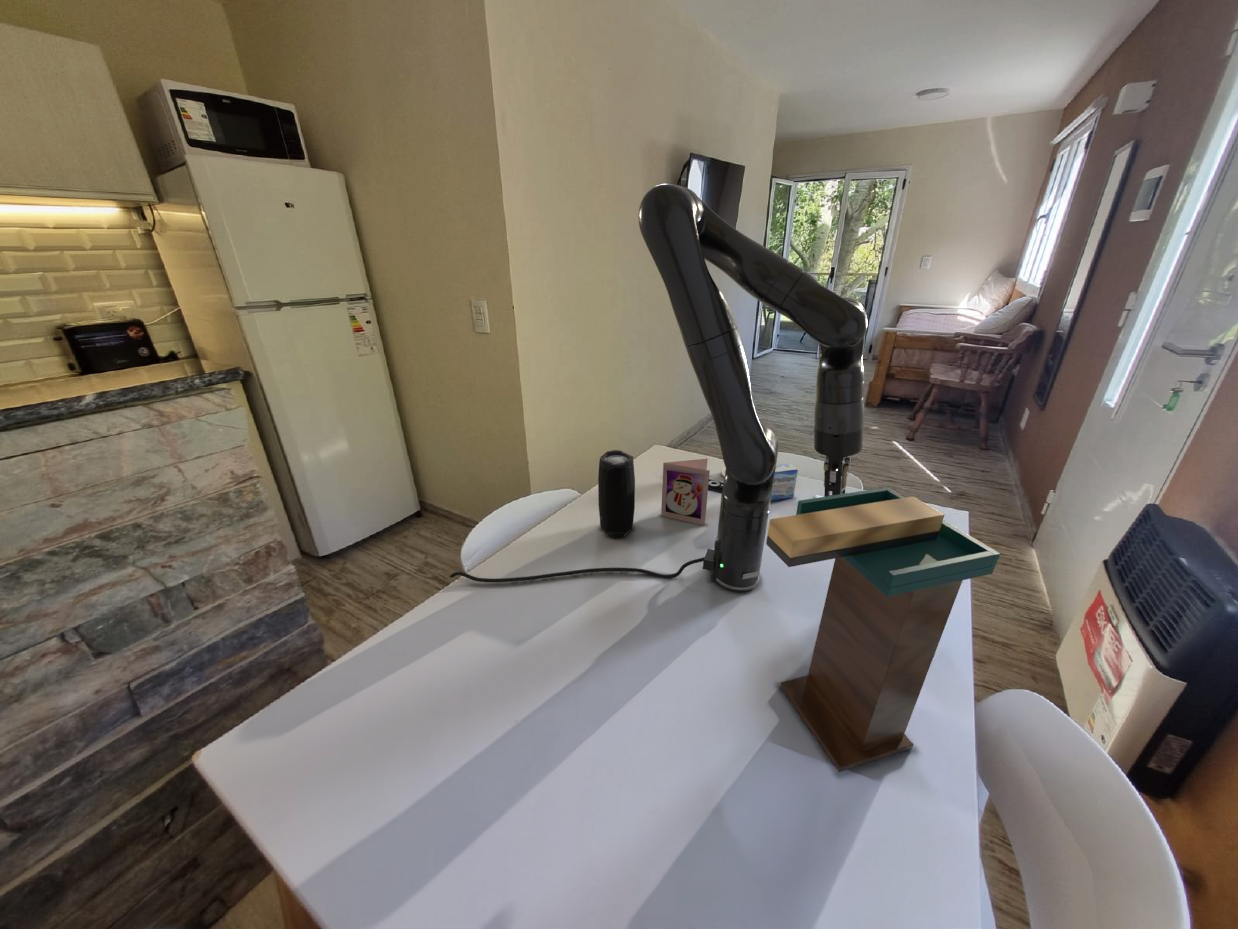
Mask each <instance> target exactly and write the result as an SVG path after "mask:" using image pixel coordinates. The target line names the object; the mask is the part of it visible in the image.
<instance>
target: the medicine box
mask: <svg viewBox="0 0 1238 929" xmlns="http://www.w3.org/2000/svg"><path fill="white" fill-rule="evenodd" d="M798 473H799V469H797V468H796V467H795V466H794V465H792V464H790V463H784V464H776V469H775V475H774V482H773V490H772V496H771V502H773V501H780V500H785V499H792V498H794V496H795V490H796V484H797V480H798Z"/></svg>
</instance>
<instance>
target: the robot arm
mask: <svg viewBox="0 0 1238 929" xmlns="http://www.w3.org/2000/svg"><path fill="white" fill-rule="evenodd" d="M638 226H639V230H640V234H641V236H642V239H643V241H644V243H645V245H646V247H647V249H648V252H649V253H650V256H651V258H652V260H653V262H654V264H655V266H656V268H657V270H658V272H659V274H660V277H661V280H662V281H663V284H664V287H665V290H666V292H667V295H668V298H669V301H670V305H671V309H672V311H673V314H674V317H675V321H676V323H677V326H678V329H679V332H680V335H681V338H682V341H683V345H684V347H685V350H686V354H687V355H688V359H689V361H690V364H691V367H692V369H693V372H694V374H695V376H696V380H697V382H698V385H699V388H700V390H701V393H702V395H703V398H704V400H705V402H706V405H707V407H708V409H709V411H710V414H711V417H712V420H713V424H714V427H715V430H716V435H717V438H718V442H719V447H720V452H721V456H722V460H723V461H724V464H725V467H726V472H725V477H724V479H723V484H722V489H721V496H720V505H719V516H718V527H717V534H716V538H715V540H714V547H713V549H712V548H707V549H706V552H705V555H704V557H699V558H695V559H693V560H689V561H686V562H685V563H683V564H682V565H681V566H680V567H679V569H678V570H677V571H676V572H674V573H670V574H662V573H659V572H654V571H651V570H647V569H644V568H637V567H636V568H635V567H597V568H583V569H575V570H569V571H561V572H560V571H559V572H553V573H545V574H538V575H530V576H519V577H518V576H517V577H502V578H501V577H500V578H486V577H477V576H474V575H471V574H469V573H466V572H464V571H454V572H453V573H451V574H450V575H449V576H448V577H449V578H450V579H451V578H454V577H457V576H461V577H464V578H466V579H468V580H471V581H474V582H478V583H510V582H522V581H524V582H525V581H533V580H540V579H547V578H556V577H563V576H564V577H565V576H571V575H578V574H587V573H588V574H589V573H601V572H603V573H604V572H629V573H630V572H632V573H640V574H646V575H649V576H653V577H657V578H662V579H672V578H677V577H679V576H680V575H681V574H682V572H684V570H685V569H686V568H687V567H689V566H690V565H694V564H697V563H702V570H705V571H710V572H711V576H710V581H712V582H714V583H715V582H716V584H718V586H721V587H722V588H724V589H726V590H729V591H734V592H748V591H752V590H753V589H755V588H756V587H757V586H758V585H759V582H760V573H761V572H760V571H761V567H762V560H763V554H764V546H765V539H766V532H767V527H768V520H769V515H770V508H771V503H772V501H771V496H772V490H773V482H774V475H775V469H776V465H777V462H778V455H779V450H780V448H779V441H778V438H777V436H776V434H775V432H774V431H773V430H772V429H771V428H770V427H769V426H767V425H765V424H762V423H761V421H760V419H759V416H758V414H757V410H756V407H755V404H754V400H753V393H752V385H751V377H750V376H751V375H750V369H749V363H748V358H747V354H746V350H745V346H744V342H743V339H742V336H741V333H740V330H739V327H738V324H737V321H736V318H735V316H734V313H733V311H732V310H731V307H730V305H729V304H728V302H727V300H726V298H725V296H724V294H722V292H721V290H720V289H719V287H718V285H717V284H716V282H715V280H714V279H713V277H712V274H711V273H710V271H709V268H708V265H707V263H706V261H707V262H708V263H710V264H711V265H713V266H714V267H716V268H717V269H719V271H722V273H724V274H725V275H727V276H728V277H729V278H730V279H731V280H732V281H733V282H734V283H735V284H737V285H738V286H739V287H740V288H741V289H742V290H744V291H745V292H746V293H747V294H749V295H750V296H751V297H753V298H754V299H755V300H757V301H758V302H760V303H762V304H763V305H765V306H767V307H768V308H770V309H771V310H773V311H775V312H776V313H778V314H780V315H782V316H783V317H785V318H787V319H788V320H790V321H791V322H792V323H793V324H795V325H796V326H797V327H798V328H799V329H800V330H801V331H802V332H804V333H805V334H806V335H807V336H809V337H810V338H811V339H813V340H814V341H815V342H817V343H818V360H819V361H818V367H817V373H816V387H815V390H816V392H815V395H816V396H815V397H816V399H815V406H814V414H813V415H814V417H813V418H814V419H813V420H814V421H813V422H814V423H813V424H814V426H813V427H814V428H813V429H814V430H813V435H814V436H813V437H814V438H813V448H814V450H815V452H817V453H818V454H819V455H823V456H825V461H824V462H823V472H824V473H823V474H824V476H823V477H824V478H823V487H824V496H823V497H826V496H833V495H839V494H846V490H847V479H848V476H849V475H848V474H850V468H851V462H852V457H853V456H856V455H857V454H859V453H860V452H861V451H862V449H863V442H864V425H865V423H864V422H865V406H864V390H865V388H864V387H865V368H864V362H863V361H864V360H863V358H864V357H863V356H864V350H865V348H864V347H865V337H866V334H867V331H868V325H869V324H868V323H869V322H868V321H869V320H868V316H867V312H866V309H865V307H864V305H863V304H862V303H861V302H860V301H858V300H857V299H855V298H854V297H847V296H841V295H839V294H837V293H835V291H832V290H830V289H828V288H827V287H825V286H823V285H822V284H821V283H820V282H819V281H818V279H817V278H816V277H815V276H813V275H812V274H811V273H810V272H808V271H806V270H805V269H803V268H802V267H800V266H798V265H797V264H795V263H793V262H792V261H790V260H789V259H787V258H785V257H784V256H782V255H780V254H778V253H777V252H775V251H773V250H771V249H770V248H768V247H766V246H765V245H763V244H761V243H759V242H758V241H755V240H754V239H752V238H750V237H748V236H747V235H745V234H744V233H742V232H741V231H739V230H738V229H736V228H735V227H734V226H732V225H731V224H729V223H728V222H727V221H725V220H724V219H723V218H721V216H719V215H718V214H717V213H716V212H715V211H714V210H712V208H711V207H709V206H708V205H707V204H706V203H705V201H703V200H702V199H701V198H700V197H699V196H698V195H697V193H695V191H693V190H692V189H691V188H688V187H686V186H682V185H677V184H675V183H674V184H673V183H661V184H658V185H654V186H653V187H652V188H650V189H649V190H648V191H647V192H646V193H645V194H644V195H643V198H642V199H641V202H640V205H639V209H638ZM723 461H722V462H723Z"/></svg>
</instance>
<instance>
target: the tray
mask: <svg viewBox="0 0 1238 929" xmlns="http://www.w3.org/2000/svg"><path fill="white" fill-rule="evenodd" d="M900 498H906V496H903V495H902V494H900V493H898V492H897V491H895V490H893V489H891V488H890V487H888V486H886V487H880V488H872V489H866V490H859V491H854V492H853V491H852V492H845V494H839V495H833V496H826V497H824V496H822V497H819V498H814V497H813V498H807V499H801V500H800V499H799V500H798V502H797V508H796V514H795V515H800V514H806V513H812V512H818V511H825V510H831V509H837V508H843V507H850V506H856V505H862V504H868V503H875V502H881V501H887V500H893V499H900ZM1000 556H1001V553H1000V552H998V551H996V549H993V548H992V547H990V546H988V545H987V544H985V543H983V542H982V541H979V540H978V539H976V538H975V537H973V536H971V535H970V534H968V533H966V532H965V531H963V530H961V529H959V528H958V527H956V526H954V525H953V524H951V523H949V522H948V521H946V520H944V519H943V522H942V525H941V528H940V530H939V534H938V537H937V539H935V540H930V541H925V542H919V543H914V544H909V545H903V546H898V547H893V548H888V549H882V550H877V551H872V552H867V553H861V554H856V555H851V556H845V557H841V558H843V559H844V560H845V561H846V562H847V563H848V564H850V565H851V566H852V567H853V568H854V569H855V570H857V571H858V572H859V573H860V574H861V575H862V576H864V577H865V578H866V579H867V580H868V581H869V582H871V583H872V584H873V585H874V586H875V587H877V588H878V589H879V590H880V591H881V592H882V593H884V594H885V595H886V596H887V597H888V596H893V595H898V594H902V593H907V592H911V591H916V590H920V589H925V588H929V587H934V586H939V585H943V584H948V583H952V582H957V581H961V580H963V581H965V580H969V579H975V578H979V577H980V578H981V577H984V576H989V575H993V573H994V570H995V568H996V565H997V563H998V561H999V558H1000Z"/></svg>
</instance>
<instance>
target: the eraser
mask: <svg viewBox="0 0 1238 929" xmlns="http://www.w3.org/2000/svg"><path fill="white" fill-rule="evenodd" d="M945 516H946V515H945V514H944V513H943V512H941V511H940V510H938V509H936V508H934V507H933V506H930V505H929V504H927V503H925V502H924V501H923V500H920V499H919V498H916V497H915V496H907V497H906V496H905V498H900V499H893V500H887V501H881V502H875V503H868V504H862V505H856V506H850V507H843V508H837V509H831V510H825V511H818V512H812V513H806V514H800V515H796V514H793V515H787V516H781V517H776V518H775V517H774V518H770V519H769V524H768V530H767V536H766V541H765V542H766V543H765V544H766V546H767V547H768V548H769V549H770V550H771V551H772V552H773V553H774V554H775V555H776V556H777V557H778V558H779V559H780V561H782V562H783V563H784V564H785V565H786V566H787V567H788V568H792V567H799V566H804V565H808V564H812V563H818V562H824V561H829V560H835V558H840V557H845V556H851V555H856V554H861V553H867V552H872V551H877V550H882V549H888V548H893V547H898V546H903V545H909V544H914V543H919V542H925V541H930V540H935V539H937V537H938V534H939V530H940V528H941V525H942V522H943V520H944V519H945Z"/></svg>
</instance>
